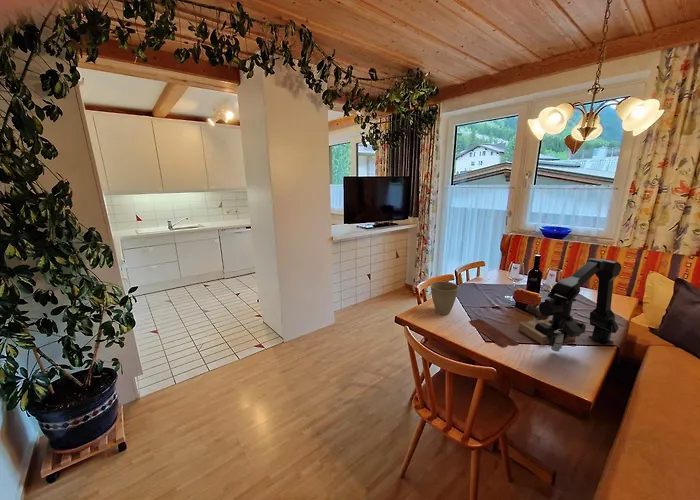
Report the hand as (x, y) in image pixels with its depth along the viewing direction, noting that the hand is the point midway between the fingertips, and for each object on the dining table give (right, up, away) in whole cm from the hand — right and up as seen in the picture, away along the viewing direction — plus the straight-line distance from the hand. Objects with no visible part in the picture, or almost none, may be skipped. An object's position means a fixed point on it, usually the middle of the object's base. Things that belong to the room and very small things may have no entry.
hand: (555, 345), depth 124 cm
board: (+6, 0, +16) cm, 17 cm away
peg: (0, -2, 0) cm, 2 cm away
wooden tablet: (-19, -1, +20) cm, 27 cm away
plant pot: (-35, +5, +41) cm, 55 cm away
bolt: (+15, +5, +38) cm, 41 cm away
